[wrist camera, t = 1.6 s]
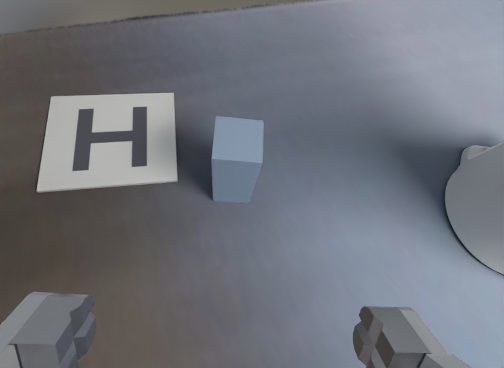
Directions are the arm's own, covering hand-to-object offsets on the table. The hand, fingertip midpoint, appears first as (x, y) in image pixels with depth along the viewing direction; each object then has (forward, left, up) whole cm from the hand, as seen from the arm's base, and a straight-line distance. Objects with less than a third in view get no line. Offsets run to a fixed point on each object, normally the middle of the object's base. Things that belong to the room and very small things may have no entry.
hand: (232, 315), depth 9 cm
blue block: (-2, -12, -20) cm, 24 cm away
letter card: (+11, -19, -20) cm, 30 cm away
